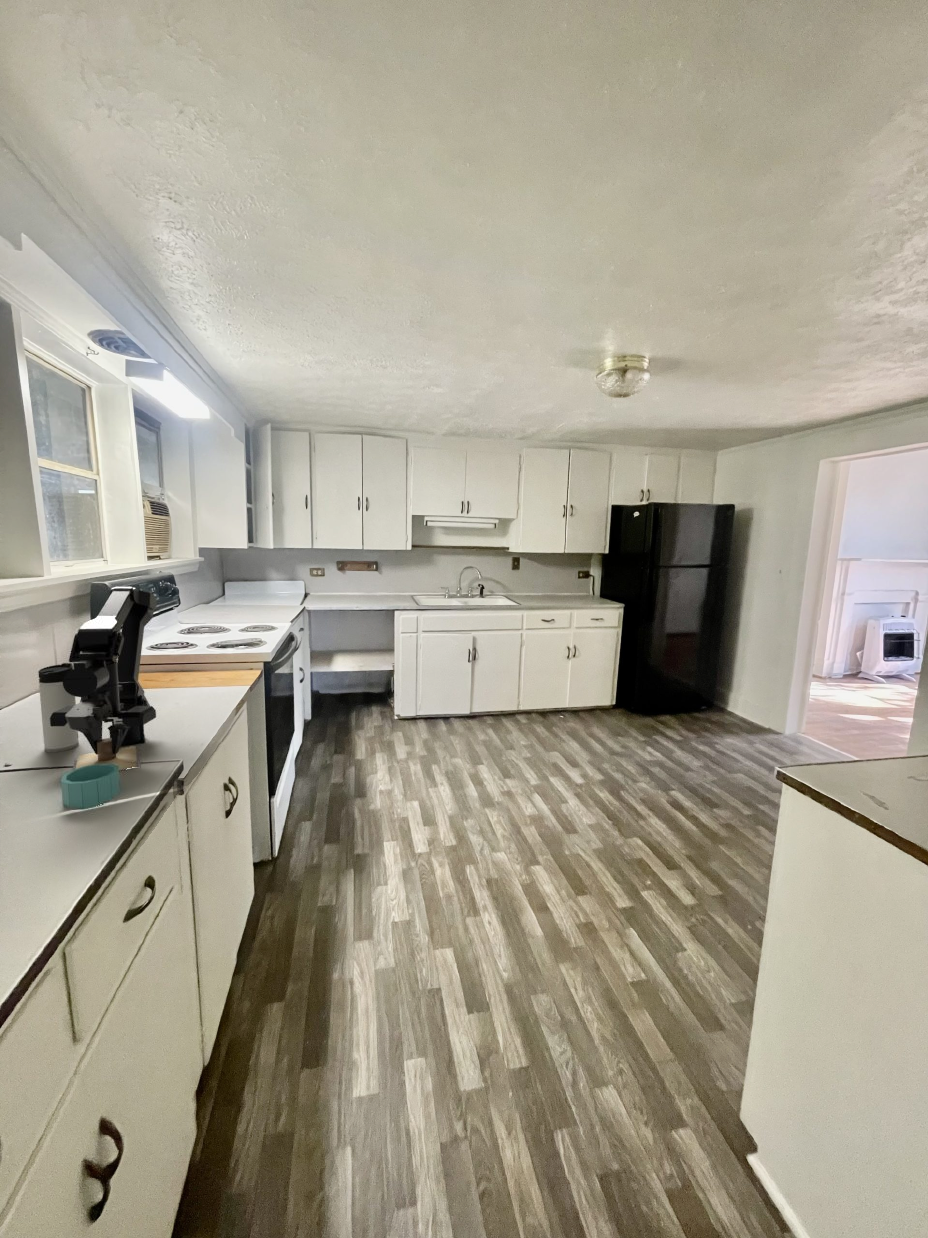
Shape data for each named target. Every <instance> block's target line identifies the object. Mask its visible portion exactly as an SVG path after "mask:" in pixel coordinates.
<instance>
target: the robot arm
mask: <svg viewBox="0 0 928 1238" xmlns="http://www.w3.org/2000/svg"><path fill="white" fill-rule="evenodd" d="M109 594H110V595H109V597H108V598H107V599H106V602H105V603H104V605H103V606H102V608H101V610H100V611H99V613H98V615H97V616H96V617H95V618H93V619H91V620H88V621H86V622H85V623H84V624H82V625H81V627H79V628H78V630H77V632H75V635H74V638H73V640H72V645H71V649H70V654H69V656H68V657H69V659H68V663H73V670H71V671H69V672H68V673H67V674H66V675H65V677H64V680H63V687H64V689H65V691H66V692H67V693H69V694H70V695H72V696H75V698H76V697H77V698H80V701H79V702H78V703H76V705H75V706H67V707H65V708H62V709H60V710H58V711H55V712H53V713H52V714H51V716H50V718H49V720H50V726H66V725H67V724H69V727H70V729H73V730H77V731H78V733H82V735H83V736H84V737H85V738H86V740H87V742H88V743H89V745H90V746H91V749H92V750H93V753H95V754H96V755H98V751H97V741H99V740H101V739H103V723H105V724H107V723H111V724H110V725H109V726H108V727H107V730H108V731H109V738H112V751H113V754H117V753H118V751H119V749H120V748H125V747H131V746H137V745H141V744H145V743H146V737H145V736H146V735H145V725H146V724H148V723H149V722H151V721H152V720H154V719H156V718H157V709H155V708H154V706H153V705H151V704H150V703H149V701H148V698H147V697H146V695H145V690H144V689H143V687H142V685H141V683H140V682H139V677H140V676H139V674H140V667H141V658H142V657H141V656H142V649H143V641H144V640H143V639H144V632H145V627H146V625H147V624H149V623H150V622H151V620H152V619H153V618H154V612H155V610H156V609H157V607H158V605H157V601H158V600H157V597H156V596H155V595H154V594H152V592H149V591H146V590H141V589H138V588H137V587H134V586H115V587H112V588H111V589H110V591H109Z"/></svg>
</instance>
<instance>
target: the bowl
mask: <svg viewBox="0 0 928 1238" xmlns="http://www.w3.org/2000/svg"><path fill="white" fill-rule="evenodd" d="M60 785H61V786H60V787H61V796H62V805H63V806H66V807H67V808H74V809H71V810H73V811H75V810H77V811H78V810H79V811H80V810H87V809H92V808H96V806H97V807H99V806H98V805H100V804H103V803H105V802H108V801H109V800H112V799H114V798H115V797H116V796H117V795H119V794H120V788H121V787H120V772H119V770H118V766H117V765H114V764H95V765H90V766H85V767H81V768H78V769H75V770H73V769H72V770H70V771H68V772H67V773H65V774H63V775H61V779H60ZM103 805H104V804H103Z"/></svg>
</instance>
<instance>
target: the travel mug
mask: <svg viewBox="0 0 928 1238" xmlns="http://www.w3.org/2000/svg"><path fill="white" fill-rule="evenodd" d="M73 669H74V665H73V662H63V663H61V664H55V665H49V666H46V667H43V668H40V669H39V670H38V671H37V672H38V674H37V675H38V685H39V687H38V689H39V698H40V711H41V723H42V735H43V736H42V737H43V744H44V747H43V748H44V752H48V753H56V752H57V753H58V752H63V751H68V750H71V749H75V748H76V747H78V746H79V744H80V742H79V731H77V730H73V729H70V727H69V724H67V725H66V726H50V720H49V718H50V716H51V714H52V713H53V712H55V711H58V710H60V709H62V708H65V707H67V706H75V705H76V704H77V702H76V701H77V700H76V697H75V696H72V695H70V694H69V693H67V692H66V691H65V689H64V687H63V680H64V677H65V675H66V674H67V673H68V672H69V671H71V670H73Z"/></svg>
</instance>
